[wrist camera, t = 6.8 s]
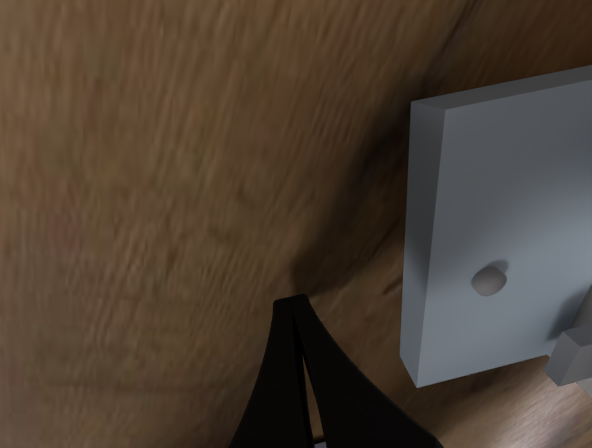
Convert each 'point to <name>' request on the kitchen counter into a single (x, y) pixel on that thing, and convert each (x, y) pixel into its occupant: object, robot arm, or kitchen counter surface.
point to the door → (496, 224)
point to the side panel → (574, 350)
